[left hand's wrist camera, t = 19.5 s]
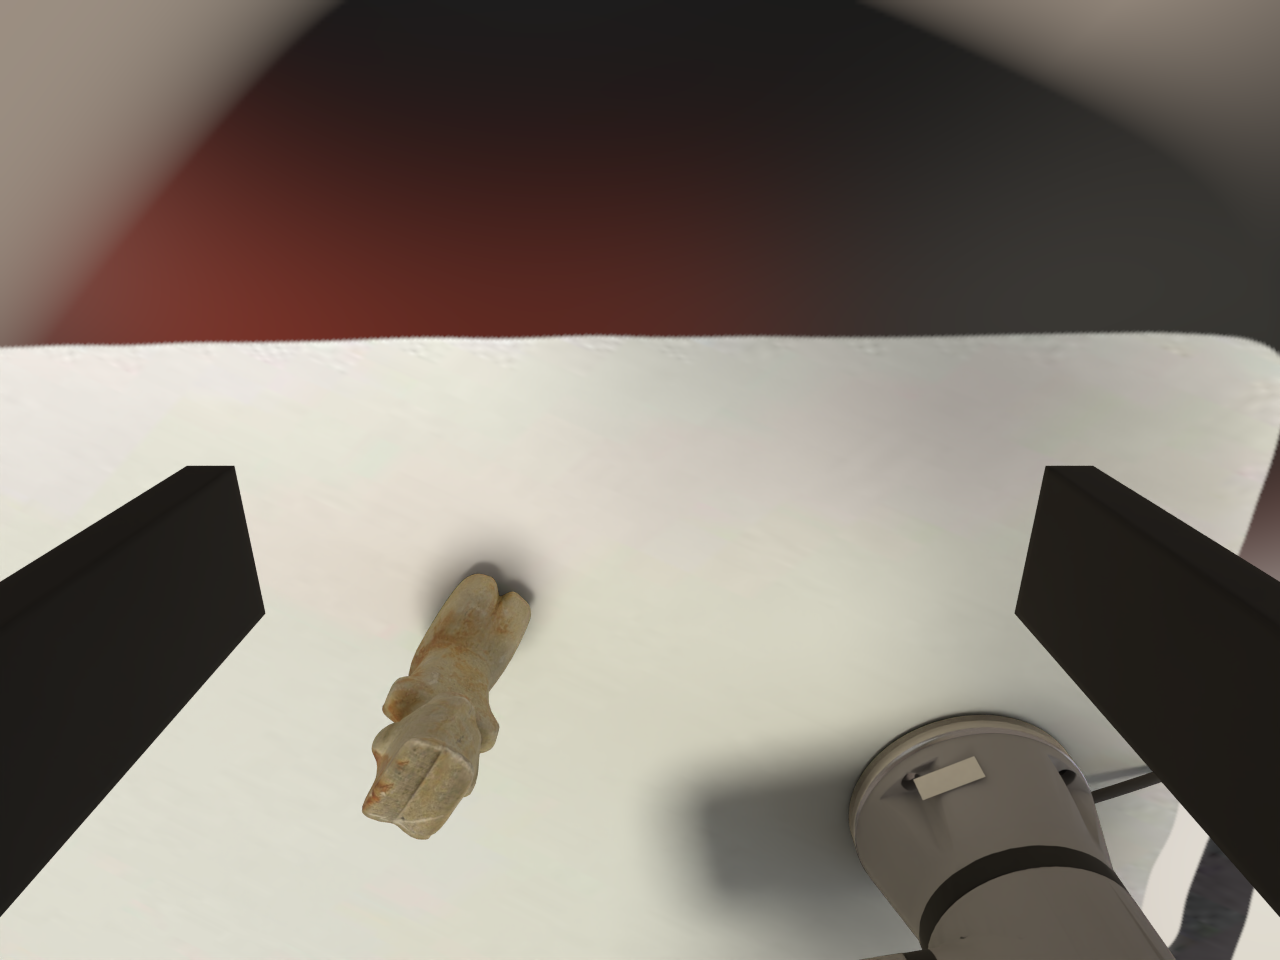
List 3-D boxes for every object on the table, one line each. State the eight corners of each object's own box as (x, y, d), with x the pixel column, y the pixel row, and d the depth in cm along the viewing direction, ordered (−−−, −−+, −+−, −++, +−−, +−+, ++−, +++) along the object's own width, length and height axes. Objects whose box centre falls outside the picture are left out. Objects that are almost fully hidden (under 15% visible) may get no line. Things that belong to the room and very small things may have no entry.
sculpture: (552, 605, 45) (512, 795, 31) (484, 683, 47) (418, 895, 33) (470, 550, 44) (390, 723, 30) (404, 634, 46) (300, 832, 32)
